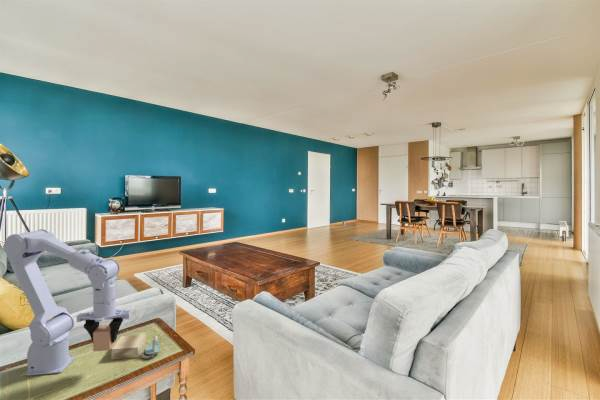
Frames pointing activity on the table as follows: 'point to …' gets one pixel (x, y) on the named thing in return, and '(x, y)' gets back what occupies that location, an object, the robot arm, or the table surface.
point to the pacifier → (151, 348)
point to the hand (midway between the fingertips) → (104, 341)
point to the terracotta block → (102, 338)
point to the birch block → (128, 347)
